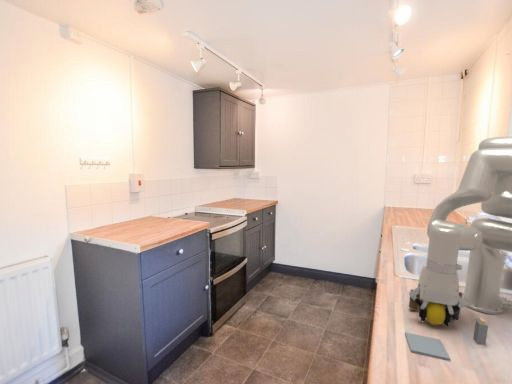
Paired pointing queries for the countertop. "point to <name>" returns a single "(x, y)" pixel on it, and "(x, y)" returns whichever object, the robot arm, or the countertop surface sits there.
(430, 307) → the lemon
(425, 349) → the mat
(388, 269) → the countertop surface
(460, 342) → the countertop surface
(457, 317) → the gatepost
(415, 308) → the brown wooden block
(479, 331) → the post
